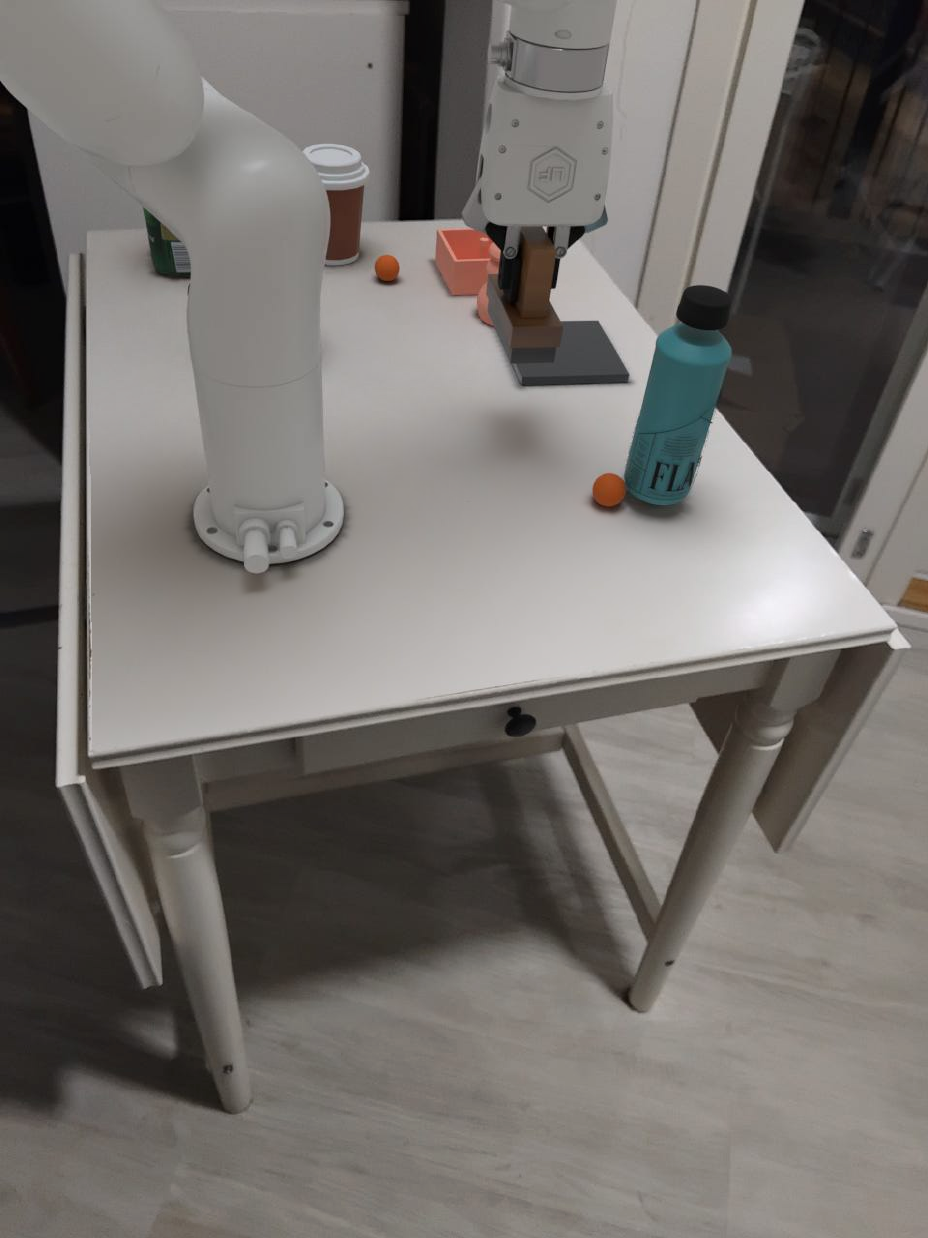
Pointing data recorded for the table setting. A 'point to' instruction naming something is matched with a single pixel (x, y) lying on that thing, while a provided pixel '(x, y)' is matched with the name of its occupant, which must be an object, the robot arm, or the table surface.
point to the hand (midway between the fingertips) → (525, 294)
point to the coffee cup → (341, 197)
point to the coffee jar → (166, 248)
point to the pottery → (467, 264)
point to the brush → (528, 303)
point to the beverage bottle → (680, 398)
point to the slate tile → (577, 359)
